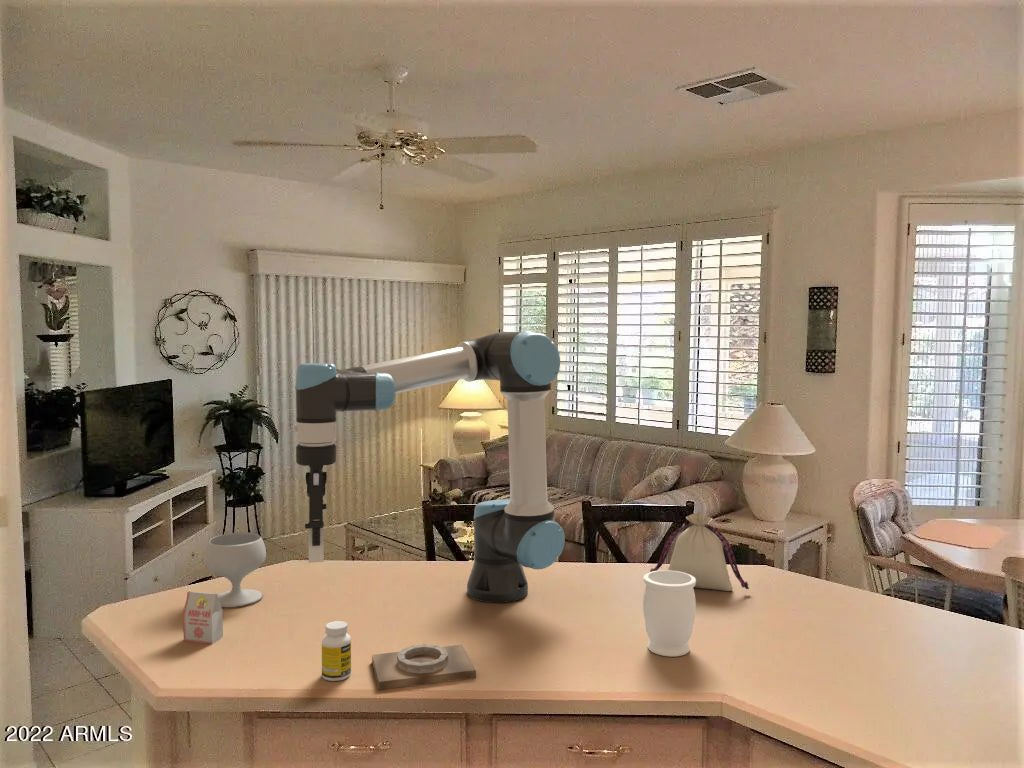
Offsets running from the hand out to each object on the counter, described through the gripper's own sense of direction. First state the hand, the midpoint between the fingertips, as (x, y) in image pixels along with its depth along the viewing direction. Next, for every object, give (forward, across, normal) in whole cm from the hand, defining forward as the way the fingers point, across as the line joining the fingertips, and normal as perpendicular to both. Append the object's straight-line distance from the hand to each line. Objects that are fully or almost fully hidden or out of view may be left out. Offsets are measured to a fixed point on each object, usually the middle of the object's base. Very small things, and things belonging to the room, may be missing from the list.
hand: (316, 551), depth 148 cm
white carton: (+22, -17, -23) cm, 36 cm away
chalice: (+22, -40, -19) cm, 49 cm away
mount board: (+22, +9, +20) cm, 31 cm away
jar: (+21, +11, +70) cm, 74 cm away
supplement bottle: (+22, +7, +4) cm, 23 cm away
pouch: (+21, -22, +94) cm, 98 cm away
